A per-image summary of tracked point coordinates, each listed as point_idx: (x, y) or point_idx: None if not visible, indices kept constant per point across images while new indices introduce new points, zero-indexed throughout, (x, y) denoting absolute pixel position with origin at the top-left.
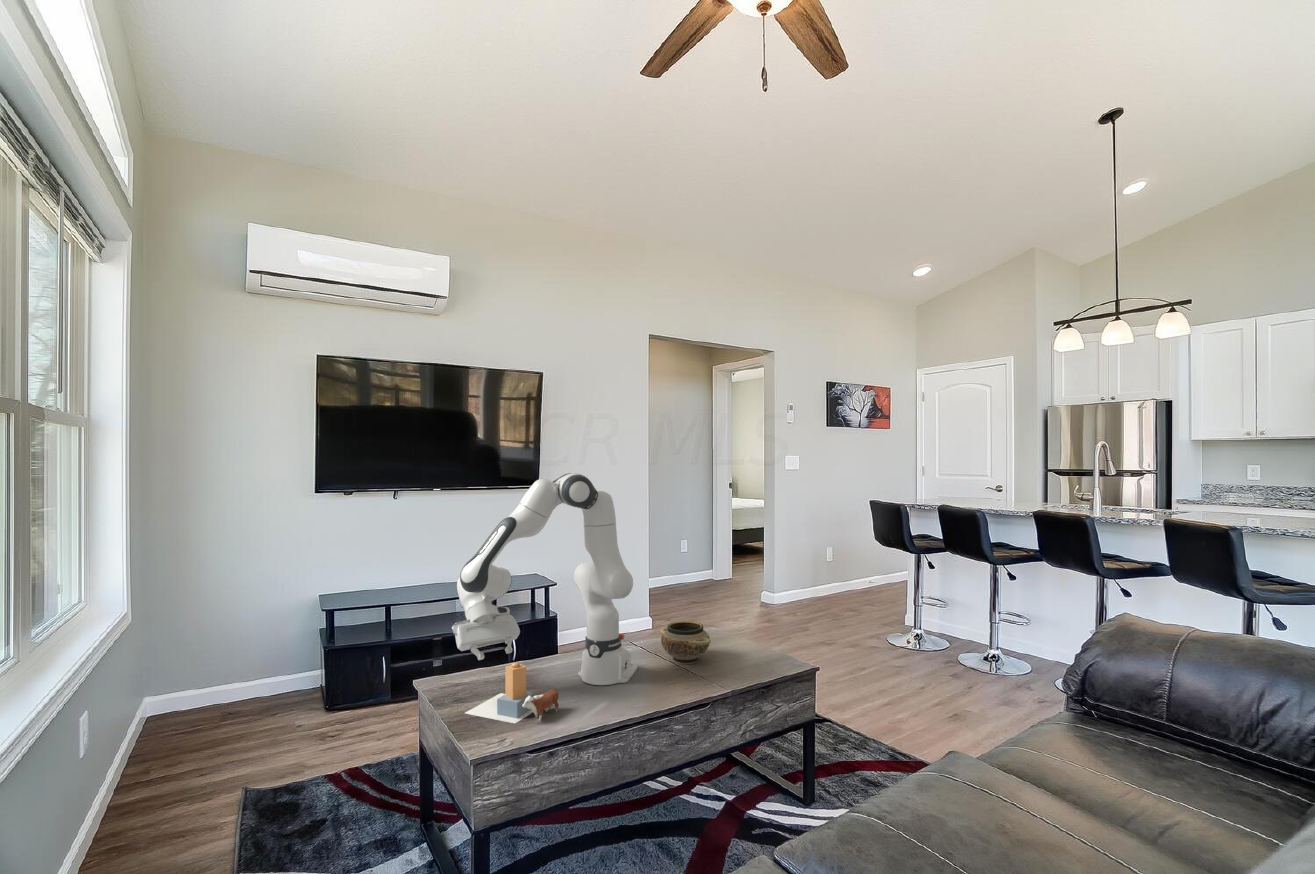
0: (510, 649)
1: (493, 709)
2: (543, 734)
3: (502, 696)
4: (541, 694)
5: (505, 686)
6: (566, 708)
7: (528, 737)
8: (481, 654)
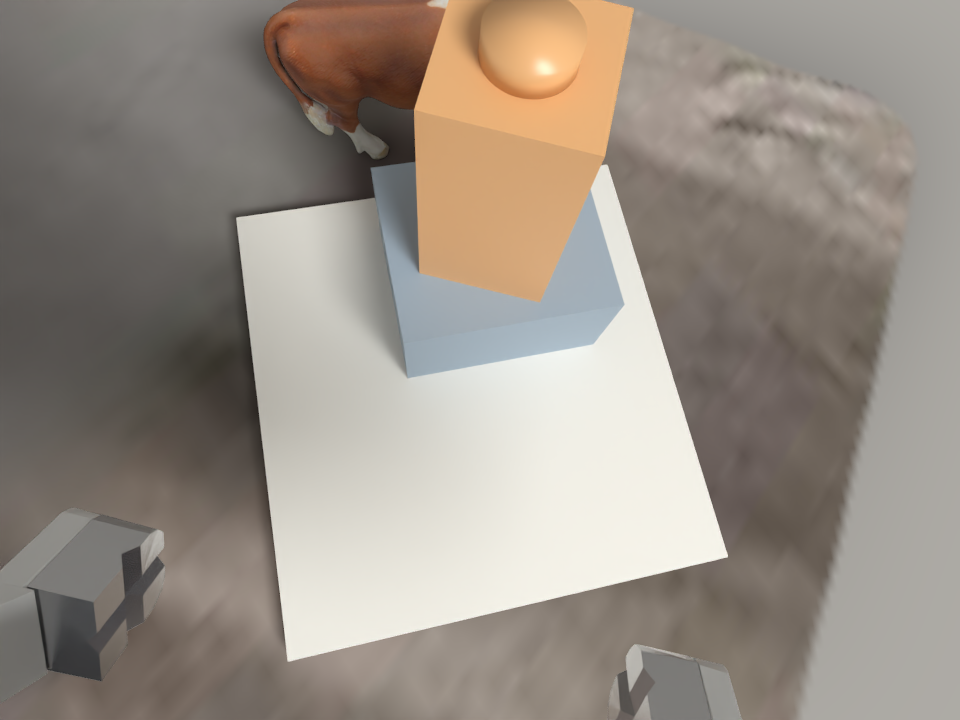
0: (93, 525)
1: (554, 431)
2: None
3: (565, 308)
4: (420, 31)
5: (553, 269)
6: (227, 113)
7: (636, 47)
8: (694, 694)
